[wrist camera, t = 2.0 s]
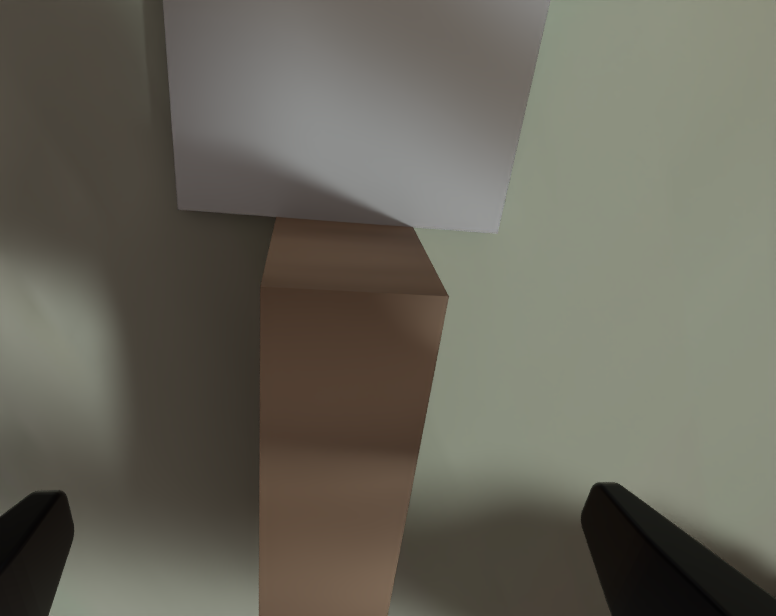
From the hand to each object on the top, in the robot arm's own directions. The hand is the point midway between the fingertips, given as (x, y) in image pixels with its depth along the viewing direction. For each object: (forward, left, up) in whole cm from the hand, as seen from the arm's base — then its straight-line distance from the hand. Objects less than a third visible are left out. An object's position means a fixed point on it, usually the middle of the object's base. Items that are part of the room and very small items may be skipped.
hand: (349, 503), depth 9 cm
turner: (+3, 0, -5) cm, 6 cm away
